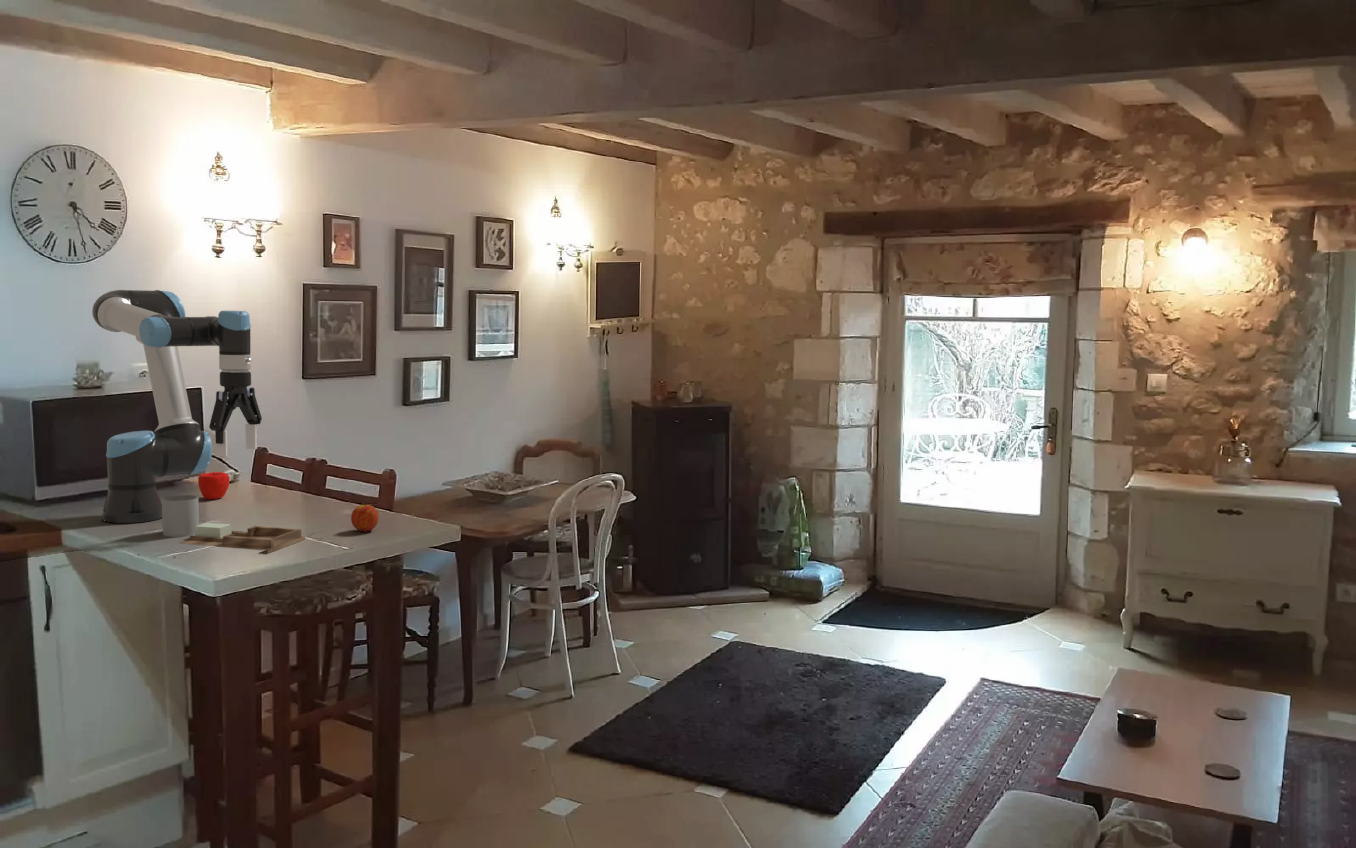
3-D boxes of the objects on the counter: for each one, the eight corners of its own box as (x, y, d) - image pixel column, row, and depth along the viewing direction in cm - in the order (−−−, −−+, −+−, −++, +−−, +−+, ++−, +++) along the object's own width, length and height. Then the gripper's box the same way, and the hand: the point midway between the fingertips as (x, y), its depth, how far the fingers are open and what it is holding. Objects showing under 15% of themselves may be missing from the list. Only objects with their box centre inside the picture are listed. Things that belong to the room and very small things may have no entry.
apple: (222, 501, 322) (221, 475, 321) (192, 501, 322) (192, 475, 321) (235, 496, 331) (234, 471, 330) (206, 495, 331) (205, 470, 330)
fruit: (350, 529, 287) (349, 499, 286) (377, 527, 290) (376, 498, 289) (352, 534, 281) (352, 504, 280) (380, 532, 283) (379, 502, 283)
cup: (175, 542, 269) (174, 502, 268) (156, 537, 273) (154, 498, 272) (206, 536, 276) (205, 497, 275) (186, 532, 280) (185, 493, 279)
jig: (179, 547, 263) (178, 535, 263) (220, 533, 279) (220, 522, 279) (267, 553, 258) (267, 541, 258) (304, 539, 274) (304, 528, 273)
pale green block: (195, 538, 269) (194, 526, 268) (206, 534, 273) (206, 522, 273) (220, 540, 267) (219, 528, 267) (231, 536, 272) (231, 524, 271)
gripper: (220, 374, 267) (222, 460, 269) (274, 368, 291) (275, 446, 294) (192, 373, 268) (194, 458, 270) (248, 367, 292) (250, 445, 295)
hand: (237, 452), depth 282 cm, fingers open, 13 cm apart
